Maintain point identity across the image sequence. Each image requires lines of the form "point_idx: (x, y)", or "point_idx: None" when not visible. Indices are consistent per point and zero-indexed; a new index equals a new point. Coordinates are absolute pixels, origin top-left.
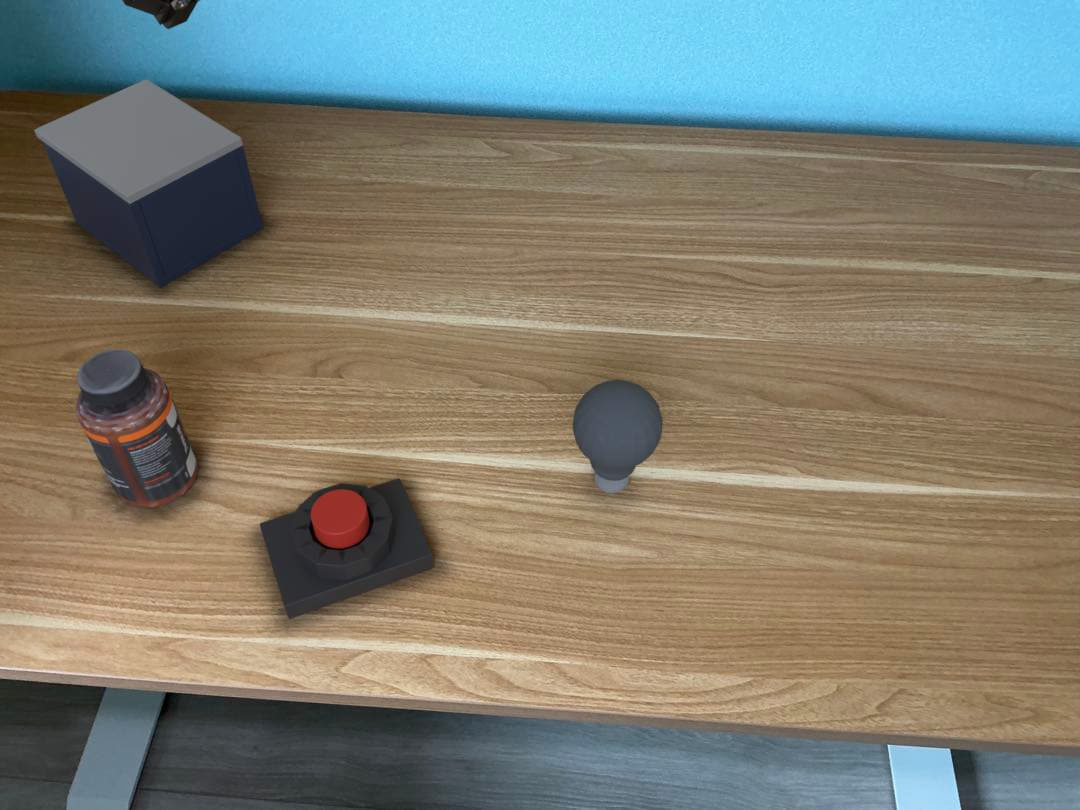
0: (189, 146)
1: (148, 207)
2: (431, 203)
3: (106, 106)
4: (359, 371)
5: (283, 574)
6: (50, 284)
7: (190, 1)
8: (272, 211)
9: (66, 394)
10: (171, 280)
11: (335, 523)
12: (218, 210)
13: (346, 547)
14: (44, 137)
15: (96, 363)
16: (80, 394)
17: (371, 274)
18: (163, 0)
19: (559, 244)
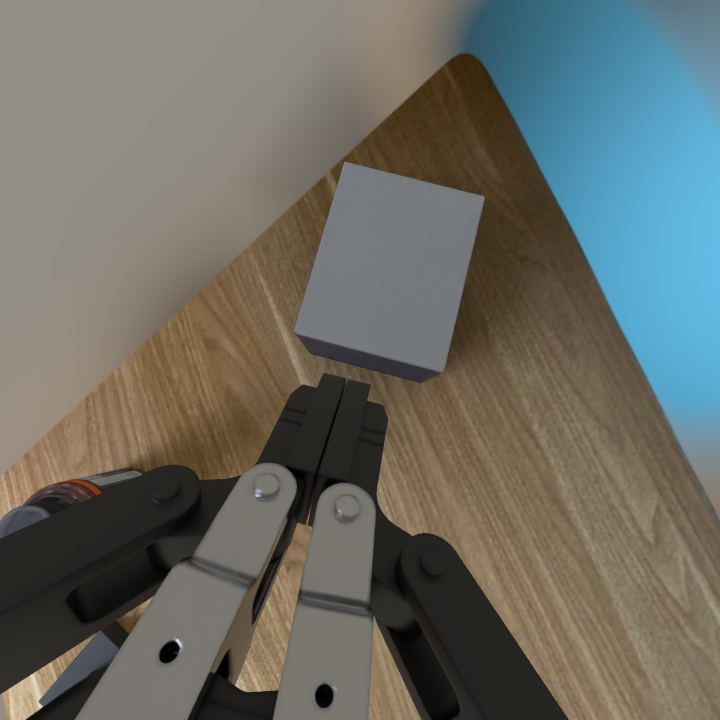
0: (400, 329)
1: (314, 341)
2: (536, 510)
3: (417, 196)
4: (300, 581)
5: (63, 681)
6: (272, 267)
7: (310, 525)
8: (446, 374)
9: (175, 371)
10: (321, 356)
11: None
12: (385, 367)
13: None
14: (339, 180)
15: (26, 520)
16: (39, 493)
17: (415, 516)
18: (156, 589)
19: (549, 671)
